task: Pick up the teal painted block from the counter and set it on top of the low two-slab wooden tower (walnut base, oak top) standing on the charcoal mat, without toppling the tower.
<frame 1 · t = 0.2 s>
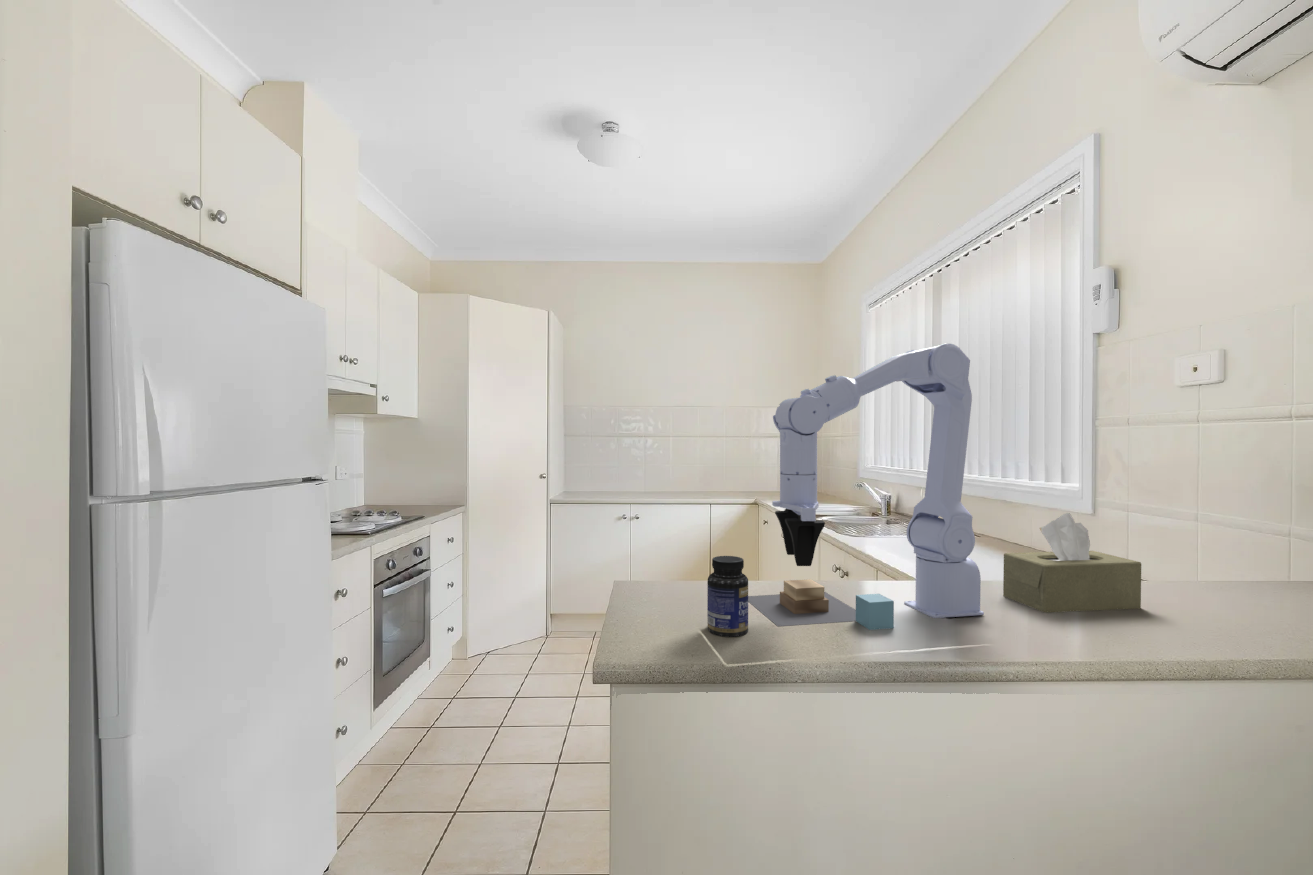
hand: (798, 559, 92), 10 cm above the countertop, fingers open, 7 cm apart
tower base: (803, 607, 99), resting on mat, touching tower mid
pill bottle: (727, 633, 88), on the countertop
mat: (803, 609, 99), on the countertop
tower mid: (803, 595, 99), point 2 cm above the countertop, touching tower base
tissue box: (1069, 604, 103), on the countertop
block: (874, 626, 90), on the countertop
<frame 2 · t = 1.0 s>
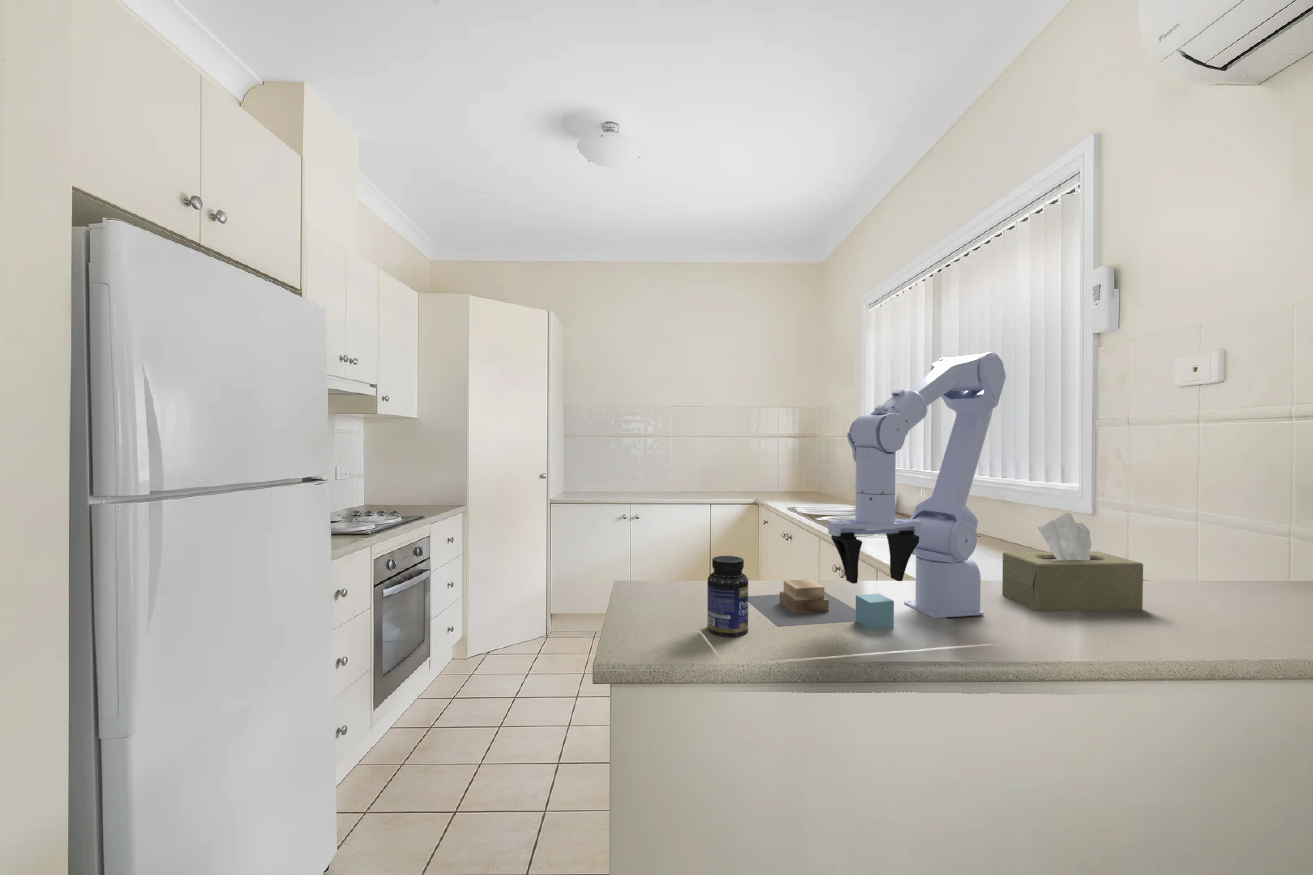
hand: (874, 580, 90), 7 cm above the countertop, fingers open, 7 cm apart
nothing on the countertop moved.
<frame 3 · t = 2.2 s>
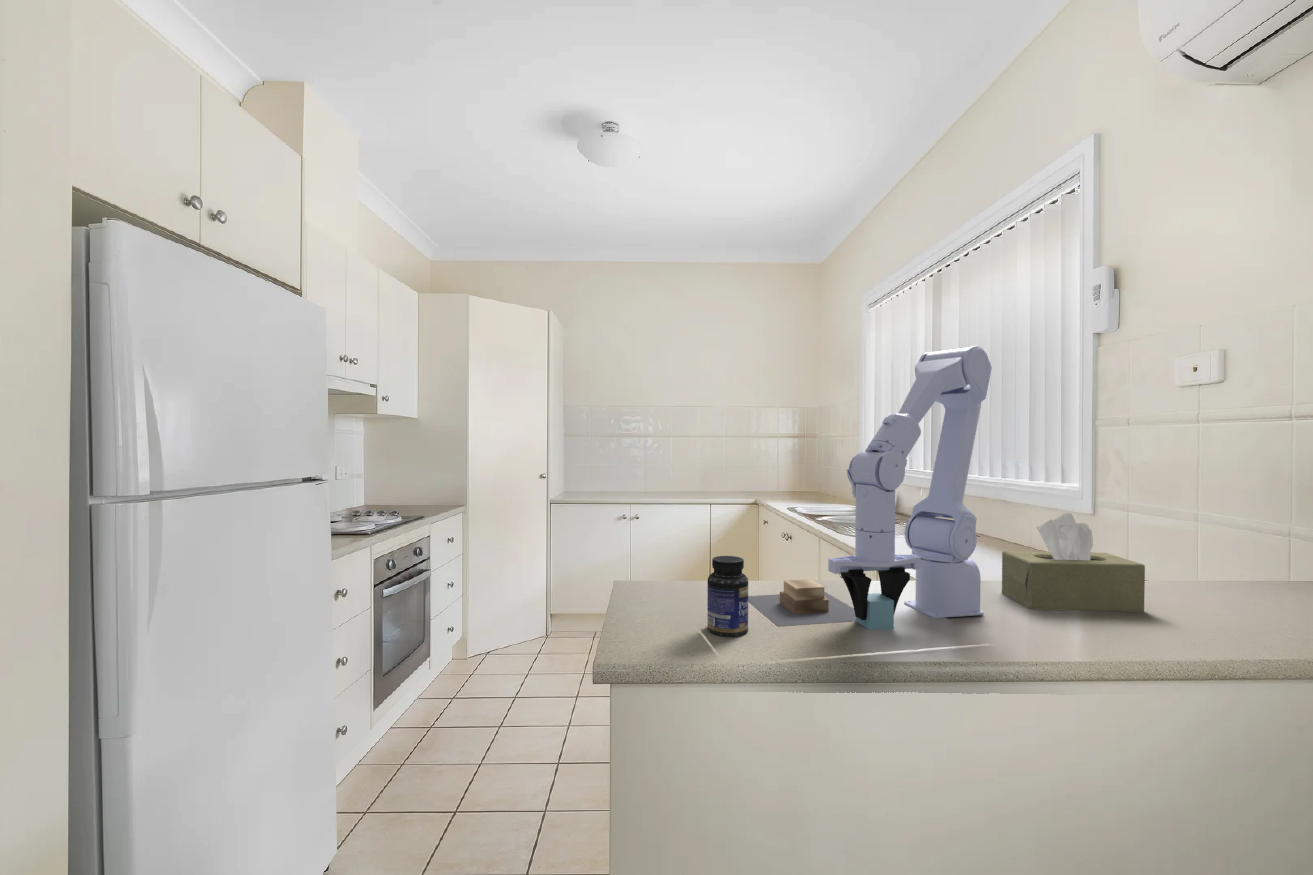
hand: (874, 617, 90), 1 cm above the countertop, fingers closed on block, 4 cm apart
block: (874, 626, 90), on the countertop, touching gripper
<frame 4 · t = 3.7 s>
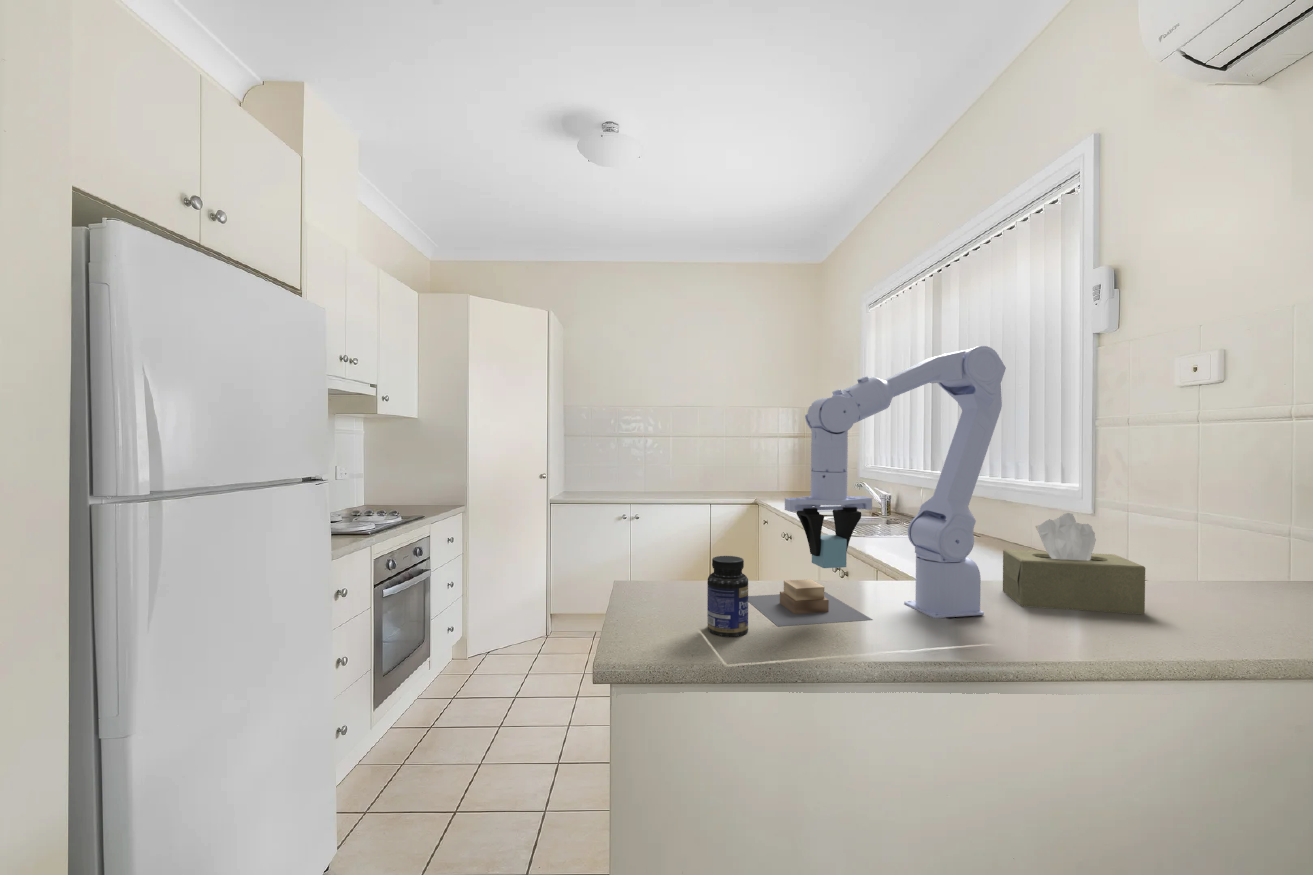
hand: (828, 554, 95), 10 cm above the countertop, fingers closed on block, 4 cm apart
block: (828, 564, 95), point 8 cm above the countertop, touching gripper
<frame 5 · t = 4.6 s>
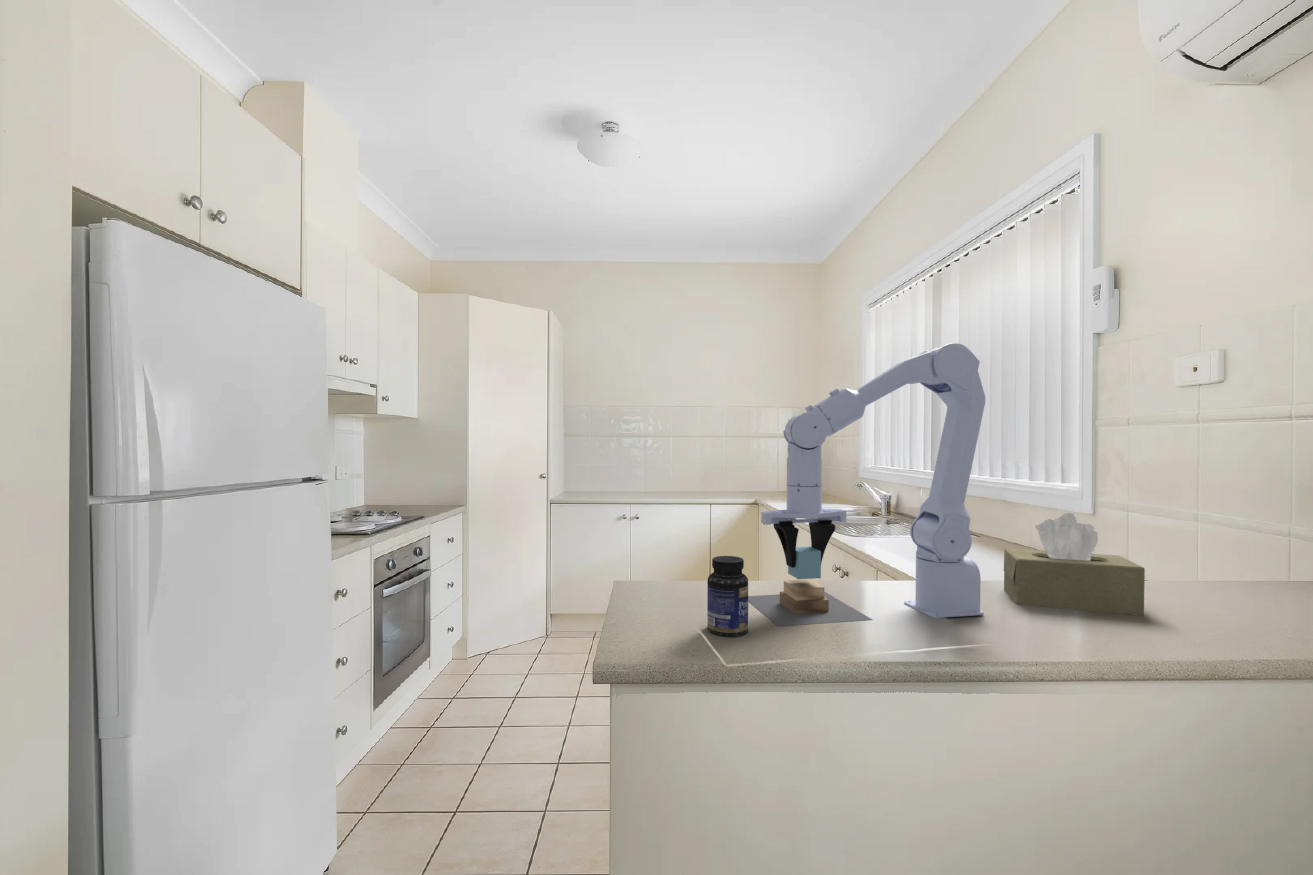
hand: (803, 565, 98), 7 cm above the countertop, fingers closed on block, 4 cm apart
block: (804, 575, 98), point 6 cm above the countertop, touching gripper
when the fingers open (7 cm above the countertop, at t = 5.1 s): block stays where it is, resting on tower mid.
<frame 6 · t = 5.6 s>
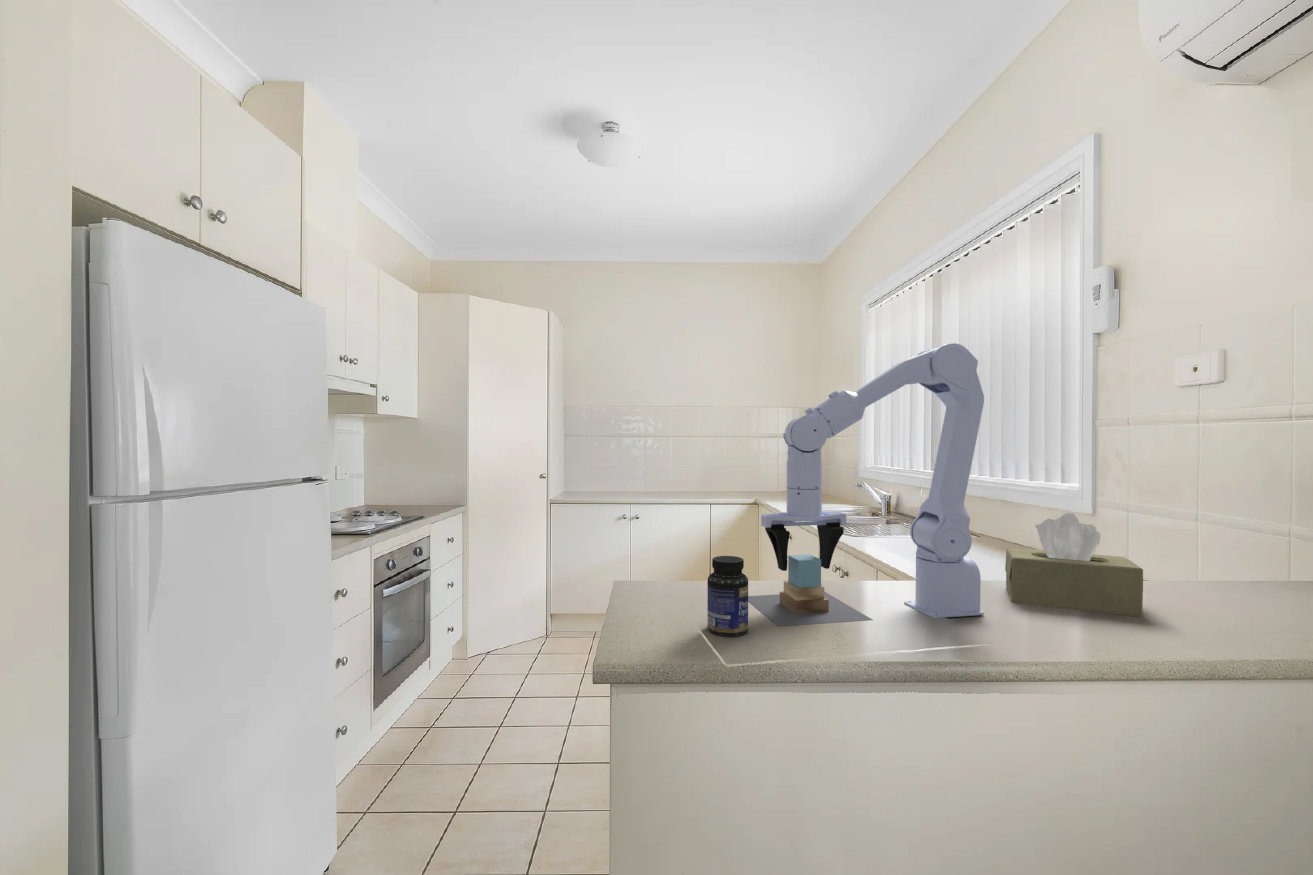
hand: (803, 568, 98), 7 cm above the countertop, fingers open, 7 cm apart
tower mid: (803, 595, 99), point 2 cm above the countertop, touching block, tower base
block: (804, 584, 98), point 4 cm above the countertop, touching tower mid
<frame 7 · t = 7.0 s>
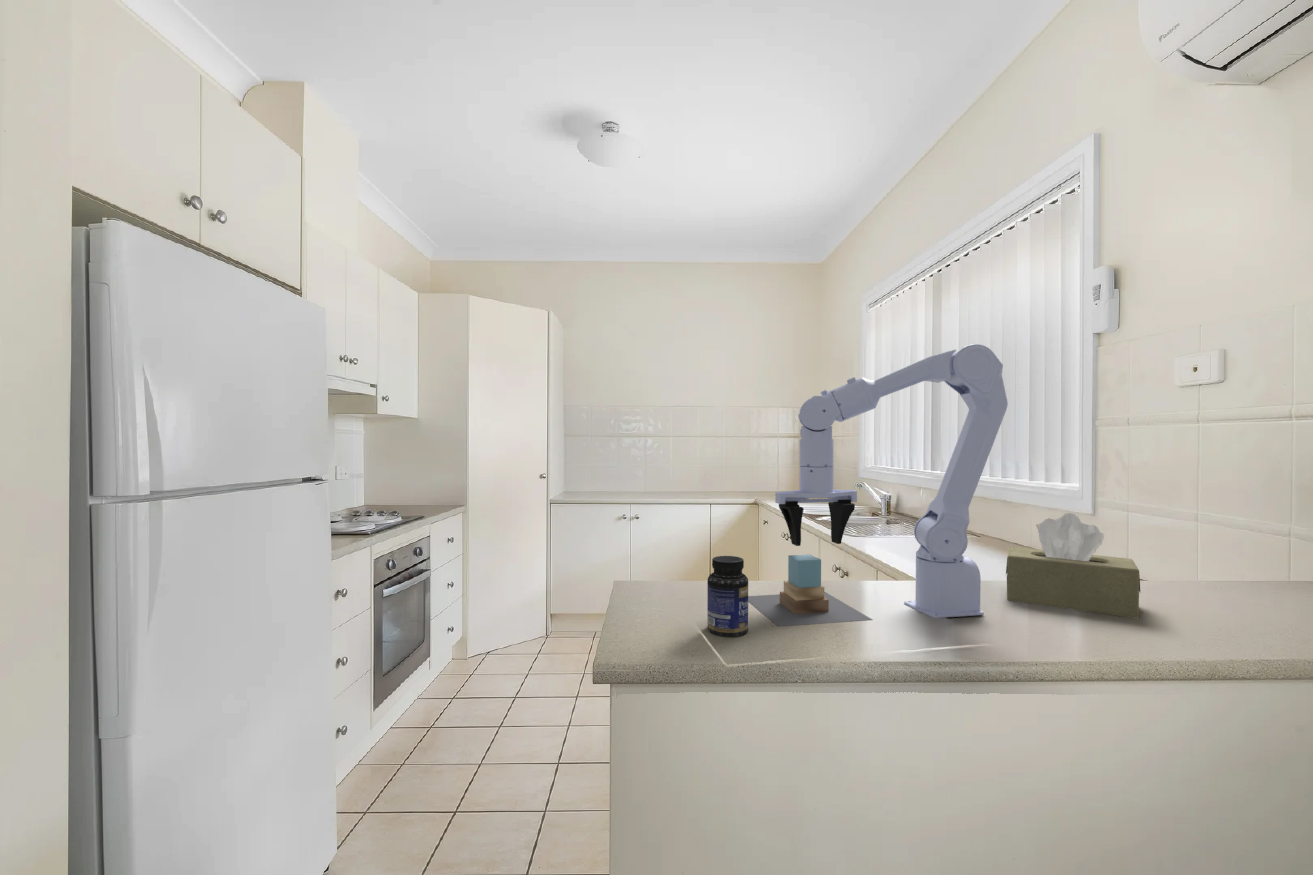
hand: (816, 543, 102), 10 cm above the countertop, fingers open, 7 cm apart
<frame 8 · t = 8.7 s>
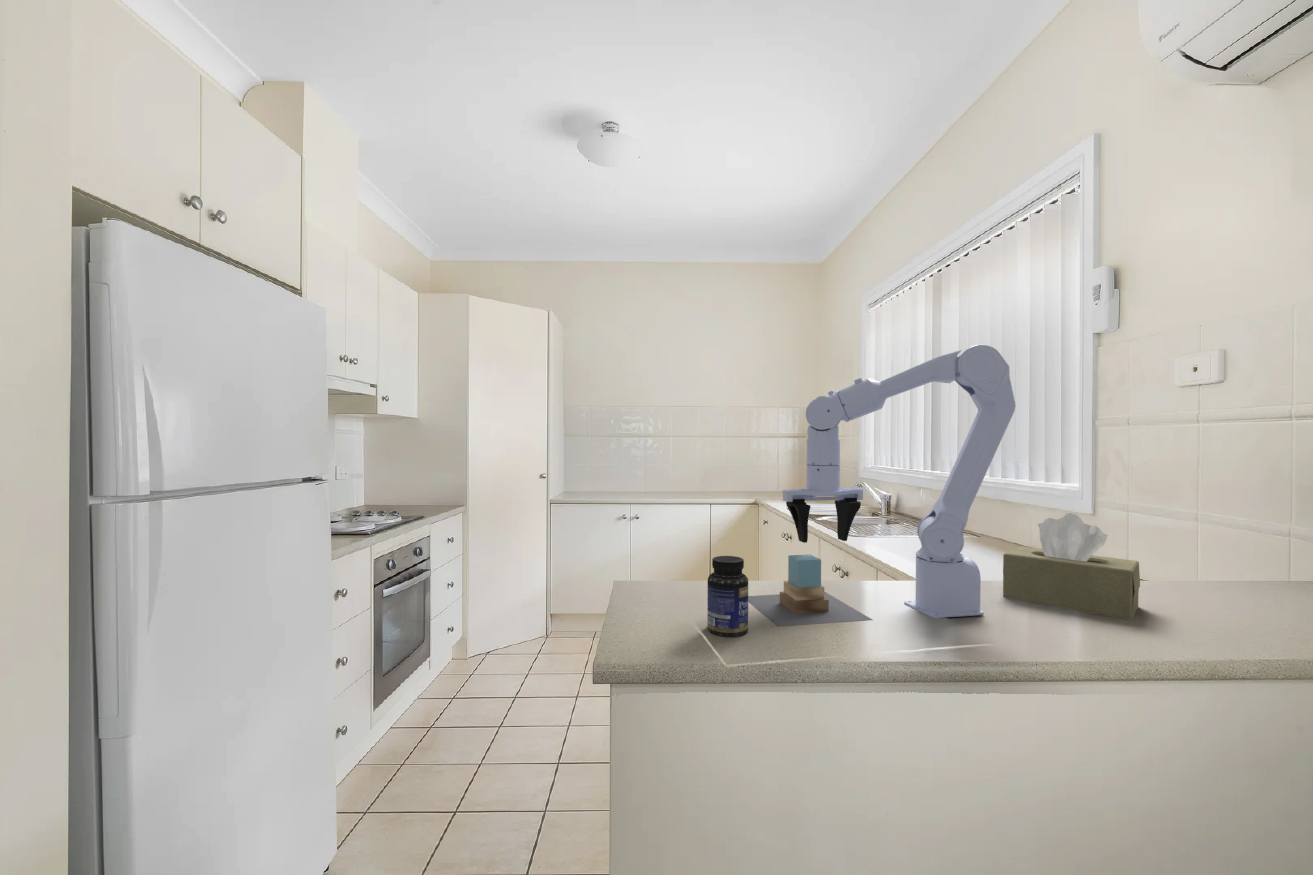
hand: (822, 540, 104), 10 cm above the countertop, fingers open, 7 cm apart
at the end: block 0.2 cm off-centre on the tower mid, point 2.0 cm above the tower mid's base; block tilted 0°; tower mid moved 0.0 cm from its start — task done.
